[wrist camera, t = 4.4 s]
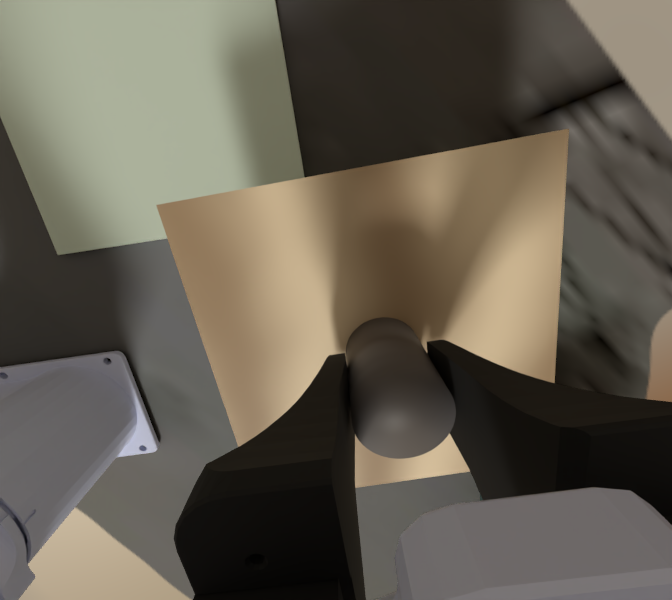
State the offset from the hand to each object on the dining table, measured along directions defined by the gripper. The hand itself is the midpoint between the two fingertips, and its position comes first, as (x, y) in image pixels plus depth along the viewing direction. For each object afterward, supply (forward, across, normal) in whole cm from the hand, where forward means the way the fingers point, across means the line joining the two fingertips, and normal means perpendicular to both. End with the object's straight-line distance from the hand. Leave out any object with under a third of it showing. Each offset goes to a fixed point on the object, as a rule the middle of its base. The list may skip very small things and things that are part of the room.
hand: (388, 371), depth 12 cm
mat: (+9, +10, -13) cm, 19 cm away
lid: (+2, 0, 0) cm, 2 cm away
